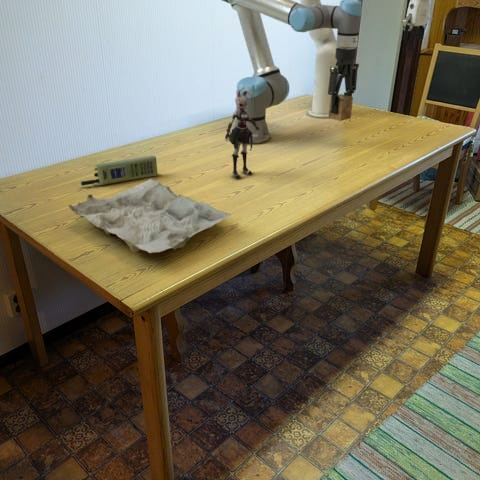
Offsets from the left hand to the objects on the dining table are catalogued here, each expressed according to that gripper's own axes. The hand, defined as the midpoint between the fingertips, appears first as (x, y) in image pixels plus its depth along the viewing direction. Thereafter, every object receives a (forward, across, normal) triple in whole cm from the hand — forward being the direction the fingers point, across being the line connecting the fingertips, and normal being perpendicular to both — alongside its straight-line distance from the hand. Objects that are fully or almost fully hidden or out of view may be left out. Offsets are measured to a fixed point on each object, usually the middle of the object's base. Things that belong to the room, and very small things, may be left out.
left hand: (340, 111), depth 193 cm
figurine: (+13, -49, 0) cm, 51 cm away
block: (+2, 0, 0) cm, 2 cm away
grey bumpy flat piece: (+13, -93, -13) cm, 94 cm away
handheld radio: (+13, -84, +20) cm, 87 cm away
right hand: (-21, +51, +6) cm, 56 cm away
